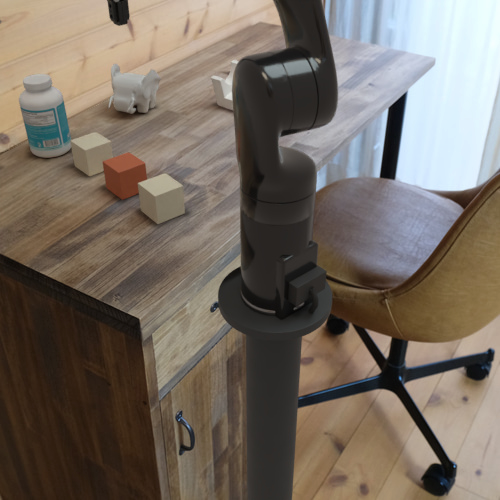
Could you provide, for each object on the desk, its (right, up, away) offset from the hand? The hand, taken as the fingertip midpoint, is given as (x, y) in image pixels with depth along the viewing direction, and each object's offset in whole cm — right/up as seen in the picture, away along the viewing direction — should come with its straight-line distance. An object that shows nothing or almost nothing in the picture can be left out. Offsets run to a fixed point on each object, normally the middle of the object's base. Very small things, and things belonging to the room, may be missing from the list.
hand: (120, 23), depth 103 cm
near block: (+7, -30, -3) cm, 31 cm away
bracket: (+21, -8, +29) cm, 36 cm away
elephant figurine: (-3, -8, +29) cm, 30 cm away
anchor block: (0, -26, +3) cm, 26 cm away
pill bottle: (-15, -18, +15) cm, 28 cm away
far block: (-6, -22, +9) cm, 24 cm away
